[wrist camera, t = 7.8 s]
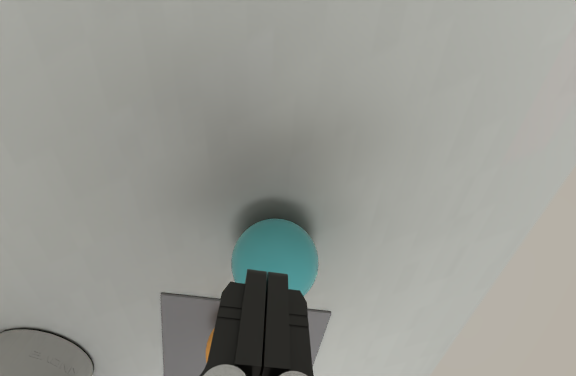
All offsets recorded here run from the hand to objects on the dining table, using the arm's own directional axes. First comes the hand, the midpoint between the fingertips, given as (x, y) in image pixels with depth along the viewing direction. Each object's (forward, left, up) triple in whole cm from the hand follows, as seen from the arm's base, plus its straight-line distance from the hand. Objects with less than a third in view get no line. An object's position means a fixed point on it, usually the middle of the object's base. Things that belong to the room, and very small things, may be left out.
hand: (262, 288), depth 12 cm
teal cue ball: (-3, -4, -7) cm, 9 cm away
